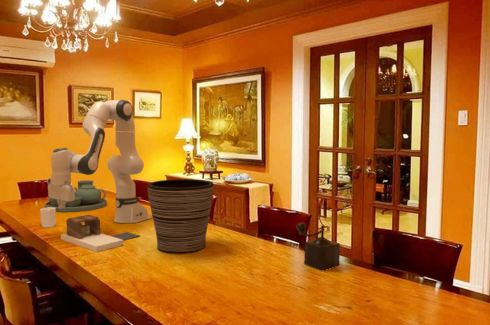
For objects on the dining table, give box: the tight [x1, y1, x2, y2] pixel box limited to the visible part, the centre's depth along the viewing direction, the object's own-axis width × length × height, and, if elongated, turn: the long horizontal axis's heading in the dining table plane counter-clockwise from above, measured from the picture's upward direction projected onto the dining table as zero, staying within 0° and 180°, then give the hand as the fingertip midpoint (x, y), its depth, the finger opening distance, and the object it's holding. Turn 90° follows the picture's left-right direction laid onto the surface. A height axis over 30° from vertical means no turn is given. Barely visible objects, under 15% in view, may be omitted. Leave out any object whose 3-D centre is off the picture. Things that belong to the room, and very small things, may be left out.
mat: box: [111, 231, 141, 242], centre depth 208 cm, size 11×11×1 cm
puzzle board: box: [60, 232, 124, 253], centre depth 198 cm, size 14×32×2 cm, turn 51°
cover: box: [66, 214, 101, 239], centre depth 202 cm, size 11×12×8 cm
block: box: [82, 224, 90, 237], centre depth 202 cm, size 4×4×7 cm
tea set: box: [44, 179, 108, 213], centre depth 285 cm, size 40×40×16 cm
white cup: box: [39, 207, 57, 228], centre depth 229 cm, size 8×8×10 cm
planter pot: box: [147, 178, 215, 255], centre depth 190 cm, size 30×30×30 cm
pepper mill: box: [296, 222, 341, 271], centre depth 165 cm, size 16×11×18 cm
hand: (61, 208), depth 204 cm, fingers closed
